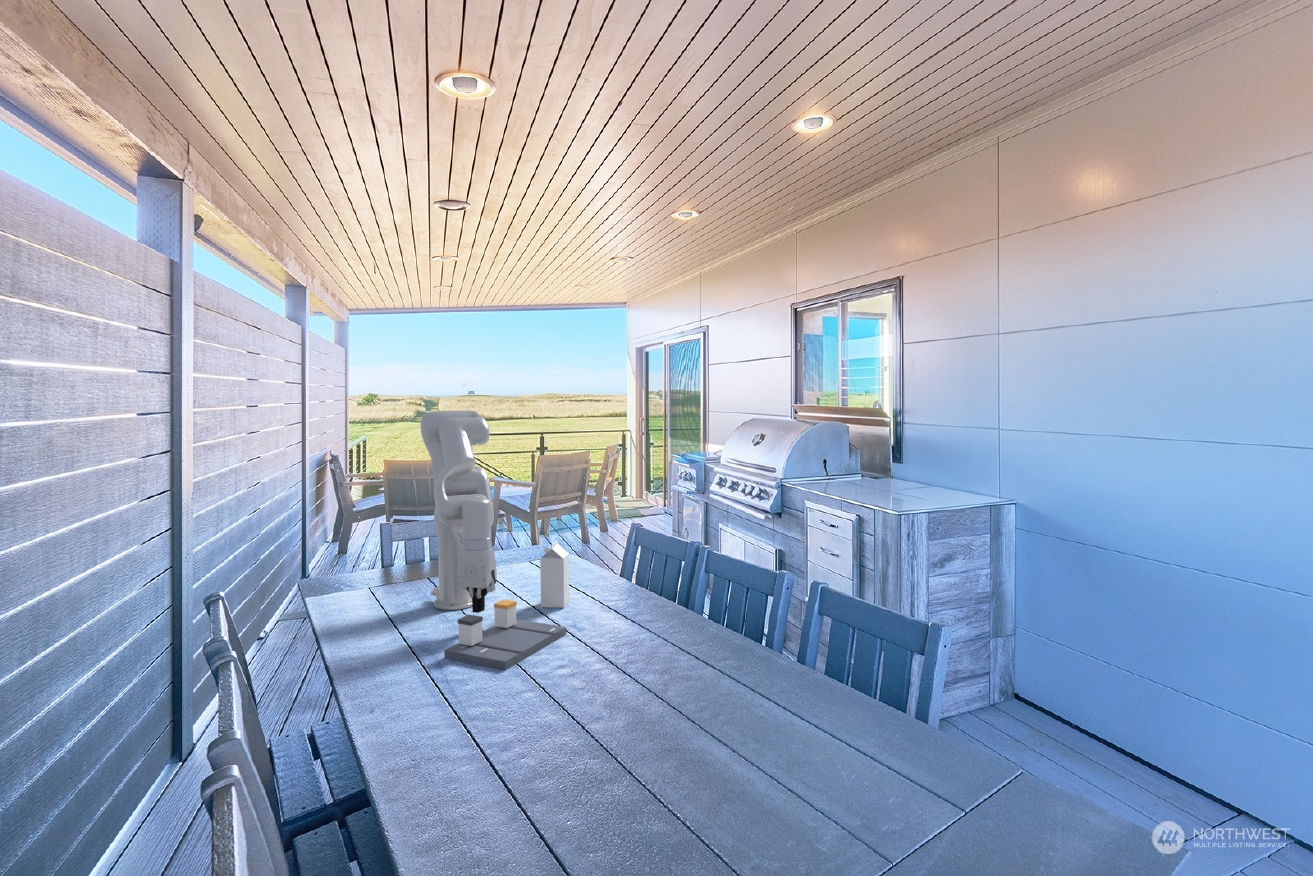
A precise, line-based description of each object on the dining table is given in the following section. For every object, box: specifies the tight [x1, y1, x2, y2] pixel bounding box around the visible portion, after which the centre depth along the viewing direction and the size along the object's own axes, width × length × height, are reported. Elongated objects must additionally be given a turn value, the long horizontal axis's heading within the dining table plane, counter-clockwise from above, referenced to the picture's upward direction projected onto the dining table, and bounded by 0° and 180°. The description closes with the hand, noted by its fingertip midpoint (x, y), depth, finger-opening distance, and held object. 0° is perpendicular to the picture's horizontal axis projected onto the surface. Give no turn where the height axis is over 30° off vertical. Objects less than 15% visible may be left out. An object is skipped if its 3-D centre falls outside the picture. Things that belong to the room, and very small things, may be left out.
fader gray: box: [457, 614, 484, 646], centre depth 168 cm, size 4×4×6 cm
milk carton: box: [539, 539, 570, 609], centre depth 205 cm, size 7×7×19 cm
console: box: [443, 618, 567, 671], centre depth 172 cm, size 18×26×2 cm
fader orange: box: [493, 599, 518, 628], centre depth 180 cm, size 4×4×6 cm
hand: (478, 611), depth 184 cm, fingers closed
